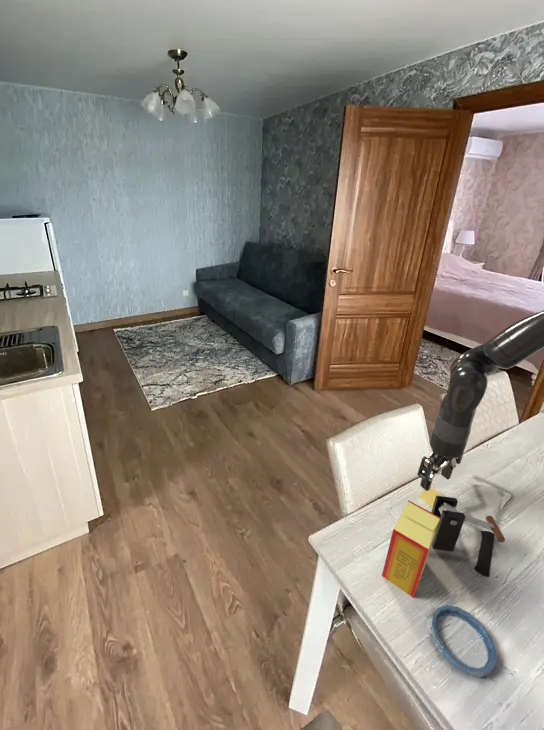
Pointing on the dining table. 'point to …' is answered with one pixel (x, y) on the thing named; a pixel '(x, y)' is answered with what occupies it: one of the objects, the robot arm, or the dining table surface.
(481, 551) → the kitchen cleaver
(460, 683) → the dining table surface
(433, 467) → the robot arm
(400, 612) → the dining table surface
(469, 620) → the blue hoop band
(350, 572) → the dining table surface
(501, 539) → the slicer blade
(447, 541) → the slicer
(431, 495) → the butter pat
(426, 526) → the baking soda box
